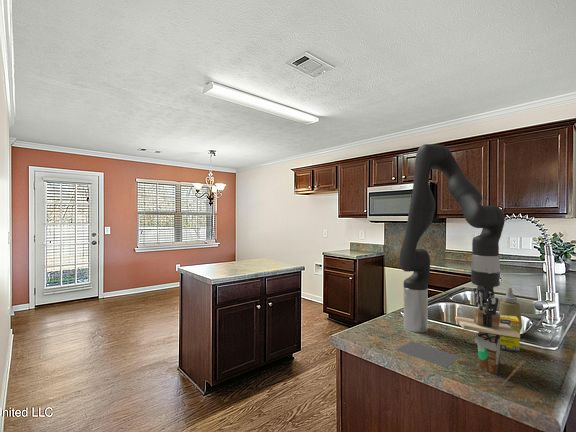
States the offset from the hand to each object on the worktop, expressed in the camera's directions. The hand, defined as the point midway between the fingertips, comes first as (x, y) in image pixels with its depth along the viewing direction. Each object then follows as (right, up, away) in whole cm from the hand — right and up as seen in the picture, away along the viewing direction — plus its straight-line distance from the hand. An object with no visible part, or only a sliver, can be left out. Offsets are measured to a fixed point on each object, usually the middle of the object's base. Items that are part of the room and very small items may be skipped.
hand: (485, 324), depth 98 cm
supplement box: (+17, -13, +14) cm, 25 cm away
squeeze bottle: (+27, -13, +28) cm, 41 cm away
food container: (0, -13, 0) cm, 13 cm away
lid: (0, -1, 0) cm, 1 cm away
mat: (-14, -13, +9) cm, 21 cm away
